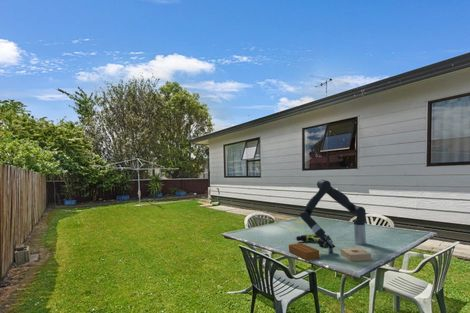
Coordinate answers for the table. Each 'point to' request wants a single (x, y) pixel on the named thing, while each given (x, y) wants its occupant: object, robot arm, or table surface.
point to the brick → (304, 251)
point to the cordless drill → (310, 238)
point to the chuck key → (331, 245)
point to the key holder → (355, 254)
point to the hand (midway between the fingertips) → (332, 247)
